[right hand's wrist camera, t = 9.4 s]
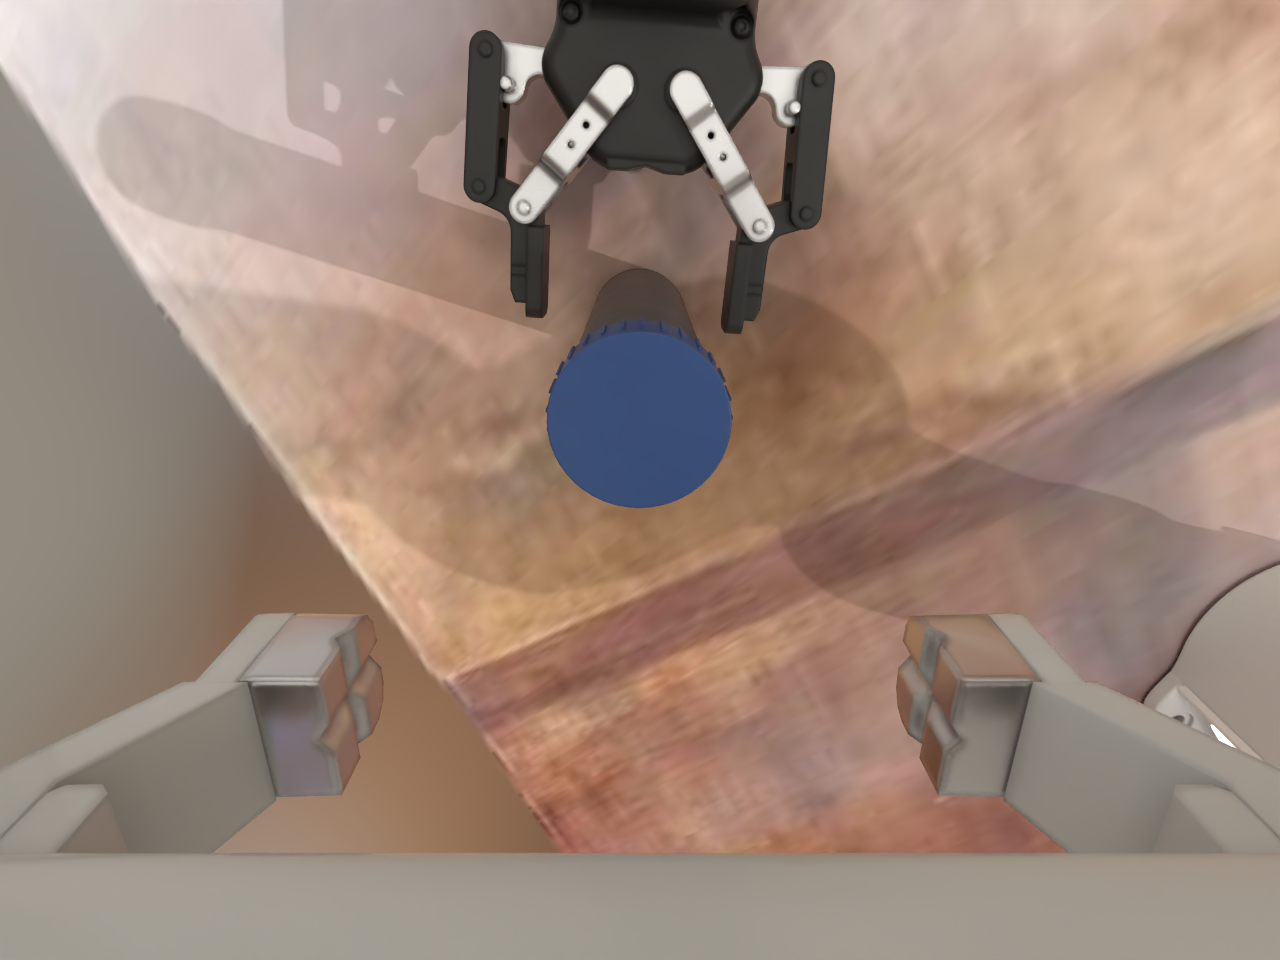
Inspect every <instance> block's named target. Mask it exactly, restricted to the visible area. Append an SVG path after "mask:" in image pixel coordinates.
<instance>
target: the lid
mask: <svg viewBox="0 0 1280 960" xmlns="http://www.w3.org/2000/svg"><path fill="white" fill-rule="evenodd" d="M715 364H716V363H715V360H714V358H713V356H712V354H711V352H710V351H709V352H708V353H707V352H706V350H705V349H704V348H703V347H702V346H701V344H700V342H699V339H698V338H695V339H693V338H692V337H691V336H689V335H688V334H686V333H685V332H684V331H683V328H681V327H679V329H677V328H675V327H673V326H670V325H667V324H665V321H663V320H661V322H656V321H650V320H645V317H641V320H628V321H625V318H624V319H621V322H617V323H614V324H611V325H608V326H607V325H606V324H604V325H602V328H601V329H599V330H597V331H595V332H594V333H592V334H591V335H590V334H589V333H587V334H586V335H585V338H584V340H583V341H582V342H580V343H579V344H578V345H577V346H576V347H575V346H573V347H572V348H571V350H570V352H569V355H568V357H567V359H566V361H565V362H563V361H562V362H561V364H560V366H559V368H558V371H557V373H556V375H558V377H557V379H554V381H553V383H552V385H551V387H550V390H549V393H551V395H550V398H549V403H548V405H547V408H546V412H547V431H548V436H549V440H550V444H551V447H552V449H553V452H554V455H555V457H556V458H557V460H558V462H559V464H560V466H561V467H562V468H563V470H564V471H565V473H566V474H567V475H568V476H569V477H570V478H571V479H572V480H573V481H574V482H575V483H576V484H577V485H578V486H579V487H581V488H582V489H583V490H584V491H586V492H588V493H589V494H591V495H592V496H594V497H596V498H598V499H600V500H603V501H605V502H608V503H611V504H614V505H619V506H624V507H633V508H646V507H654V506H660V505H664V504H667V503H671V502H673V501H676V500H678V499H680V498H683V497H684V496H686V495H688V494H689V493H691V492H693V491H694V490H695V489H697V488H698V487H699V486H701V485H702V484H703V483H704V482H705V481H706V480H707V479H708V478H709V477H710V475H711V474H712V473H713V472H714V470H715V469H716V468H717V466H718V464H719V463H720V461H721V459H722V458H723V455H724V453H725V451H726V448H727V445H728V441H729V438H730V432H731V420H732V419H733V416H732V414H731V407H730V401H731V396H730V394H729V392H728V390H727V387H726V385H725V386H724V382H726V380H725V378H724V376H723V374H722V372H721V369H720V368H717V367H716V365H715Z"/></svg>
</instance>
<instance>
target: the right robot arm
mask: <svg viewBox="0 0 1280 960" xmlns="http://www.w3.org/2000/svg"><path fill="white" fill-rule="evenodd" d="M376 642H377V638H376V634H375V629H374V624H373V621H372V620H371V619H370V617H369V616H368V615H347V614H295V613H268V614H261V615H257V616H255V617H254V618H253V619H252V620H251V621H250V622H249V624H248V625H247V626H246V627H245V628H244V629H243V630H242V631H241V632H240V633H239V634H238V636H237V637H236V638H235V639H234V640H233V641H232V642H231V643H230V644H229V645H228V646H227V648H226V649H225V650H224V651H223V652H222V653H221V654H220V655H219V656H218V657H217V658H216V660H215V661H214V662H213V663H212V664H211V665H210V666H209V667H208V668H207V669H206V670H205V672H204V673H203V674H202V675H201V676H200V677H199V678H198V679H197V680H196V681H195V682H182V683H180V684H178V685H176V686H174V687H172V688H170V689H167V690H165V691H163V692H161V693H159V694H157V695H155V696H153V697H151V698H148V699H146V700H144V701H142V702H140V703H138V704H136V705H134V706H132V707H130V708H127V709H125V710H123V711H121V712H119V713H117V714H115V715H113V716H111V717H108V718H106V719H104V720H102V721H100V722H98V723H96V724H94V725H91V726H89V727H87V728H85V729H83V730H81V731H79V732H77V733H75V734H72V735H70V736H68V737H66V738H64V739H62V740H60V741H58V742H56V743H53V744H51V745H49V746H47V747H45V748H43V749H41V750H39V751H37V752H34V753H32V754H30V755H28V756H26V757H24V758H22V759H20V760H18V761H15V762H13V763H11V764H9V765H7V766H5V767H3V768H1V769H0V960H1280V564H1279V565H1277V566H1274V567H1272V568H1269V569H1267V570H1265V571H1263V572H1261V573H1259V574H1257V575H1255V576H1253V577H1251V578H1249V579H1248V580H1246V581H1244V582H1243V583H1241V584H1240V585H1238V586H1237V587H1235V588H1234V589H1232V590H1231V591H1230V592H1228V593H1227V594H1226V595H1225V596H1223V597H1222V598H1221V599H1220V600H1219V601H1218V602H1216V603H1215V604H1214V605H1213V606H1212V607H1211V608H1210V609H1209V610H1208V611H1207V613H1206V614H1205V615H1204V616H1203V617H1202V618H1201V620H1200V621H1199V622H1198V623H1197V625H1196V626H1195V627H1194V629H1193V630H1192V632H1191V634H1190V635H1189V637H1188V639H1187V640H1186V642H1185V644H1184V647H1183V649H1182V651H1181V653H1180V655H1179V657H1178V660H1177V661H1176V663H1175V665H1174V667H1173V668H1172V670H1171V671H1170V672H1169V673H1168V674H1167V675H1166V676H1165V677H1164V678H1163V679H1162V680H1161V681H1160V682H1159V683H1158V684H1157V685H1156V686H1155V687H1154V688H1153V689H1152V690H1151V691H1150V693H1149V694H1148V695H1147V697H1146V698H1145V700H1144V703H1143V704H1142V703H1140V702H1138V701H1136V700H1134V699H1131V698H1129V697H1127V696H1125V695H1123V694H1121V693H1119V692H1117V691H1115V690H1112V689H1110V688H1108V687H1106V686H1104V685H1102V684H1100V683H1098V682H1085V681H1084V680H1083V679H1082V678H1081V677H1080V676H1079V675H1078V674H1077V673H1076V672H1075V670H1074V669H1073V668H1072V667H1071V666H1070V665H1069V664H1068V663H1067V662H1066V661H1065V660H1064V658H1063V657H1062V656H1061V655H1060V654H1059V653H1058V652H1057V651H1056V650H1055V649H1054V648H1053V646H1052V645H1051V644H1050V643H1049V642H1048V641H1047V640H1046V639H1045V638H1044V637H1043V636H1042V634H1041V633H1040V632H1039V631H1038V630H1037V629H1036V628H1035V627H1034V626H1033V625H1032V623H1031V622H1030V621H1029V620H1028V619H1027V618H1026V617H1025V616H1023V615H1020V614H1018V613H997V614H975V615H935V616H910V618H909V620H908V622H907V624H906V627H905V632H904V638H903V642H904V644H905V646H906V647H907V649H908V651H909V653H910V654H911V655H910V656H909V657H908V658H907V659H906V660H905V662H904V663H903V664H902V665H901V666H900V667H899V669H898V677H897V685H896V691H897V704H898V709H899V713H900V717H901V720H902V723H903V725H904V727H905V729H906V731H907V733H908V734H909V735H910V736H911V737H913V738H914V739H916V740H917V741H919V742H920V743H922V747H921V753H920V760H921V762H922V764H923V766H924V768H925V770H926V771H927V773H928V775H929V777H930V779H931V781H932V783H933V785H934V787H935V789H936V791H937V793H938V795H947V796H983V797H1004V801H1005V802H1007V803H1008V804H1009V805H1010V806H1011V807H1013V808H1014V809H1015V810H1016V811H1017V812H1019V813H1020V814H1021V815H1022V816H1024V817H1025V818H1026V819H1027V820H1028V821H1030V822H1031V823H1032V824H1033V825H1035V826H1036V827H1037V828H1038V829H1039V830H1041V831H1042V832H1043V833H1044V834H1045V835H1047V836H1048V837H1049V838H1050V839H1052V840H1053V841H1054V842H1055V843H1056V844H1058V845H1059V846H1060V847H1061V848H1062V849H1064V850H1065V851H1066V852H1067V853H213V852H214V851H215V850H217V849H218V848H219V847H220V846H221V845H223V844H224V843H225V842H226V841H227V840H229V839H230V838H231V837H232V836H234V835H235V834H236V833H237V832H238V831H240V830H241V829H242V828H243V827H245V826H246V825H247V824H248V823H249V822H251V821H252V820H253V819H254V818H256V817H257V816H258V815H259V814H260V813H262V812H263V811H264V810H265V809H266V808H268V807H269V806H270V805H271V804H273V803H274V802H275V801H276V797H296V796H331V795H342V793H343V791H344V789H345V787H346V785H347V783H348V781H349V779H350V778H351V775H352V774H353V772H354V770H355V768H356V766H357V764H358V762H359V760H360V753H359V747H358V743H360V742H361V741H363V740H364V739H366V738H367V737H369V736H370V735H371V734H372V733H373V731H374V729H375V727H376V724H377V722H378V720H379V716H380V712H381V708H382V703H383V676H382V669H381V667H380V666H379V665H378V664H377V663H376V662H375V661H374V659H373V658H372V657H371V656H370V655H369V654H370V653H371V651H372V649H373V647H374V646H375V644H376Z"/></svg>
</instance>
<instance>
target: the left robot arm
mask: <svg viewBox="0 0 1280 960" xmlns="http://www.w3.org/2000/svg"><path fill="white" fill-rule="evenodd" d="M757 9H758V0H557V16H556V23H555V27H554V30H553V33H552V35H551V38H550V40H549V41H548V43H547V45H546V47H538V46H532V45H525V44H519V43H513V42H506V41H502V40H500V39H499V38H498V37H497V36H496V35H495V34H494V33H492V32H490V31H487V30H482V31H479V32H477V33H475V34H474V35H473V37H472V38H471V41H470V45H469V68H468V92H467V116H466V140H465V164H464V190H465V193H466V195H467V196H468V197H469V198H470V199H471V200H472V201H474V202H478V203H482V204H484V205H486V206H488V207H490V208H492V209H495V210H497V211H499V212H500V213H502V214H503V215H504V216H505V217H506V218H507V220H508V222H509V224H510V227H511V292H512V295H513V298H514V300H515V302H521V303H526V307H525V309H526V317H534V318H543V317H544V316H545V315H546V313H547V308H548V281H549V243H550V225H545V214H546V212H547V211H548V210H549V209H550V207H551V206H552V205H553V203H554V202H555V201H556V200H557V198H558V197H559V196H560V195H561V193H562V192H563V191H564V189H565V188H566V187H567V186H568V185H569V183H571V181H572V180H573V179H574V178H575V177H576V176H577V174H578V173H579V172H580V171H581V169H582V168H583V167H584V165H585V164H586V163H587V162H588V160H589V159H590V158H592V159H593V160H594V161H596V162H597V163H598V164H600V165H602V166H603V167H606V168H607V169H608V170H620V171H629V170H634V169H639V168H644V167H647V168H649V169H652V170H655V171H657V172H660V173H663V174H669V175H681V176H682V175H685V174H687V173H690V172H693V171H695V170H697V169H698V168H700V167H702V169H703V171H704V173H705V174H706V176H707V178H708V180H709V181H710V183H711V185H712V187H713V188H714V190H715V192H716V193H717V195H718V196H719V197H720V199H721V201H722V202H723V204H724V206H725V208H726V210H727V211H728V213H729V215H730V217H731V218H732V220H733V222H734V224H735V225H736V227H737V233H736V241H732V240H730V247H729V256H728V265H727V273H726V282H725V290H724V299H723V308H722V317H721V328H722V329H723V331H724V333H734V334H741V332H742V328H743V321H744V320H746V321H754V320H755V318H756V316H757V314H758V312H759V310H760V306H761V298H762V291H763V283H764V276H765V269H766V261H767V254H768V249H769V247H770V245H771V243H772V242H773V241H774V240H775V239H776V238H777V237H779V236H781V235H784V234H787V233H791V232H794V231H798V230H801V229H804V230H806V229H810V228H812V227H814V226H815V225H816V224H817V223H818V222H819V220H820V217H821V211H822V201H823V192H824V182H825V172H826V162H827V152H828V142H829V132H830V123H831V113H832V103H833V93H834V83H835V72H834V69H833V67H832V66H831V65H830V64H829V63H828V62H826V61H823V60H818V61H815V62H813V63H811V64H809V65H807V66H805V67H781V66H761V63H760V61H759V58H758V55H757V51H756V45H755V26H756V17H757ZM542 77H543V78H544V79H545V82H546V84H547V85H548V87H549V89H550V90H551V92H552V94H553V96H554V97H555V99H556V101H557V102H558V104H559V106H560V108H561V109H562V111H563V113H564V114H565V116H566V118H567V119H568V122H567V123H566V124H565V126H564V127H563V128H562V129H561V131H560V132H559V133H558V135H557V136H556V137H555V139H554V140H553V141H552V143H551V144H550V145H549V147H548V148H547V149H546V150H545V152H544V153H543V155H542V156H541V158H540V160H539V162H538V164H537V165H536V166H535V168H534V169H533V170H532V172H531V173H530V174H529V176H528V177H527V178H526V179H525V181H524V182H523V183H522V185H519V184H517V183H514V182H512V181H510V180H508V179H506V161H507V145H508V129H509V112H510V105H518V104H520V103H522V102H523V101H524V100H525V98H526V96H527V93H528V89H529V86H530V84H531V83H532V82H533V81H534V80H536V79H537V78H542ZM758 96H762V97H764V98H766V99H767V100H768V101H769V103H770V105H771V108H772V117H773V120H774V122H775V123H776V124H777V125H778V126H780V127H782V128H787V137H786V149H785V162H784V174H783V186H782V199H781V201H780V202H776V203H773V204H770V205H765V203H764V201H763V199H762V197H761V195H760V194H759V192H758V190H757V188H756V186H755V184H754V183H753V180H752V178H751V174H750V172H749V170H748V168H747V166H746V164H745V162H744V161H743V159H742V157H741V155H740V153H739V151H738V150H737V148H736V146H735V144H734V142H733V140H732V139H731V137H730V135H729V133H730V132H731V131H732V129H733V128H734V127H735V126H736V124H737V123H738V122H739V121H740V119H741V118H742V117H743V116H744V114H745V113H746V112H747V111H748V110H749V108H750V107H751V106H752V105H753V103H754V102H755V101H756V99H757V98H758Z"/></svg>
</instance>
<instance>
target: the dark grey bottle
mask: <svg viewBox="0 0 1280 960" xmlns="http://www.w3.org/2000/svg"><path fill="white" fill-rule="evenodd" d="M641 317H645V320H650V321H656V322H661V320H663V321H665V324H667V325H670V326H673V327H675V328H677V329H679V327H681V328H683V331H684V332H685V333H686V334H688V335H689V336H691V337H692V338H693V339H695V338H697V336H696V334H695V331H694V329H693V326H692V323H691V321H690V318H689V316H688V313H687V311H686V308H685V305H684V303H683V300H682V298H681V296H680V293H679V292H678V290H677V288H676V287H675V286H674V285H673V283H671V282H670V281H669V280H668V279H667V278H666V277H664V276H663V275H661V274H659V273H657V272H654V271H651V270H646V269H633V270H628V271H625V272H622V273H620V274H618V275H616V276H615V277H613V278H612V279H611V280H609V281H608V282H607V283H606V285H605V286H604V287H603V288H602V290H601V291H600V293H599V295H598V297H597V300H596V302H595V305H594V307H593V310H592V313H591V315H590V318H589V320H588V323H587V325H586V328H585V330H584V333H583V335H582V338H581V341H580V342H582V341H583V340H584V338H585V335H586V334H587V333H589V334H590V335H591V334H592V333H594V332H595V331H597V330H599V329H601V328H602V325H604V324H606V325H607V326H608V325H611V324H614V323H617V322H621V319H624V318H625V321H628V320H641Z"/></svg>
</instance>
